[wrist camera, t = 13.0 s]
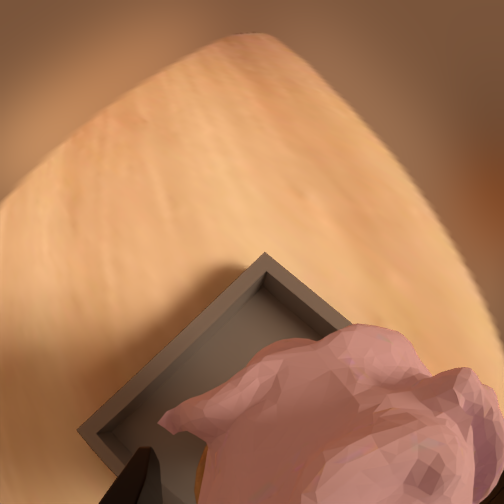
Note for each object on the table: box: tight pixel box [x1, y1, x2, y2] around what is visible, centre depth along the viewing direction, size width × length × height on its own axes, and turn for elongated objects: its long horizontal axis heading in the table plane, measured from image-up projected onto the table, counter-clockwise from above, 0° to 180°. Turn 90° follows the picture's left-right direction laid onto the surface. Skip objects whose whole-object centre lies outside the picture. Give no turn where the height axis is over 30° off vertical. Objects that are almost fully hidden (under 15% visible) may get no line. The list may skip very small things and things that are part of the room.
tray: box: [77, 252, 352, 504], centre depth 14 cm, size 14×14×2 cm
